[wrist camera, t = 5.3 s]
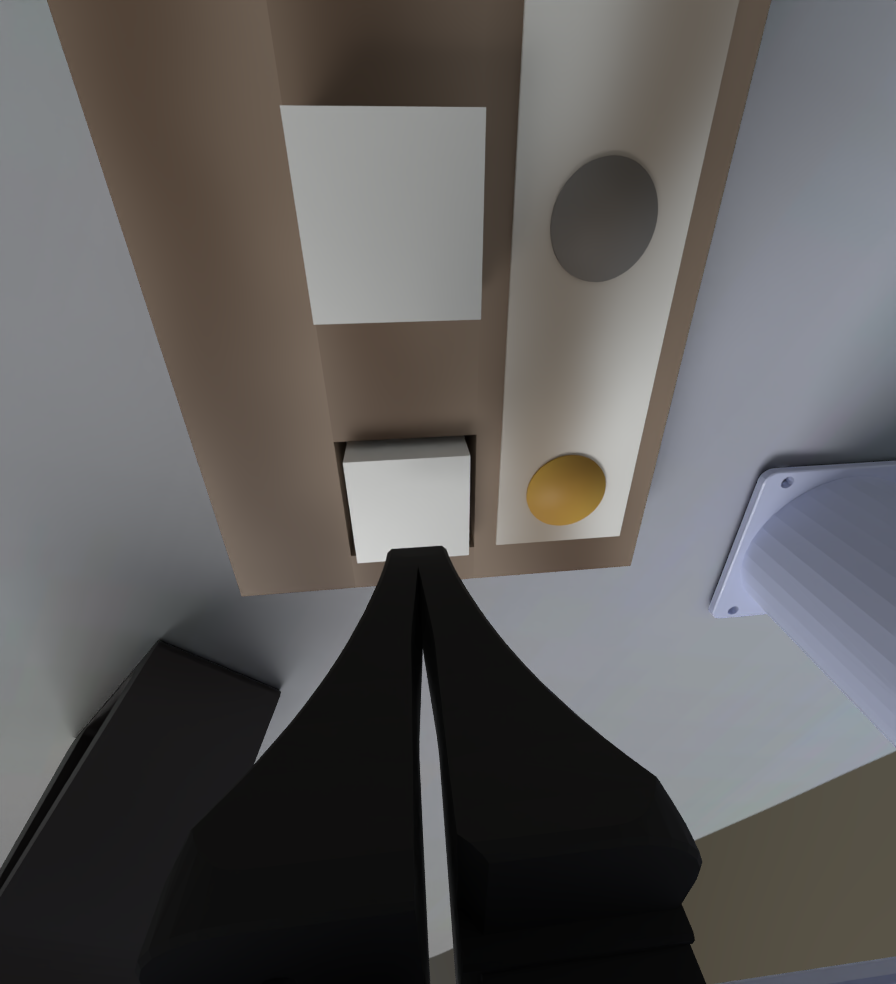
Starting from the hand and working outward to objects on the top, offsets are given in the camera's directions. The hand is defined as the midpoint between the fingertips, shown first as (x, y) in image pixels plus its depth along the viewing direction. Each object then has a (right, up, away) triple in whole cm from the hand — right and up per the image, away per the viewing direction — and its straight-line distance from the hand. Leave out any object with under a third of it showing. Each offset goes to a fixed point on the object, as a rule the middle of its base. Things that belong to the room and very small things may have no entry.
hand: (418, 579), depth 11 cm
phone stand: (-13, -9, +11) cm, 19 cm away
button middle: (-1, +9, 0) cm, 9 cm away
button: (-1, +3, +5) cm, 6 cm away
